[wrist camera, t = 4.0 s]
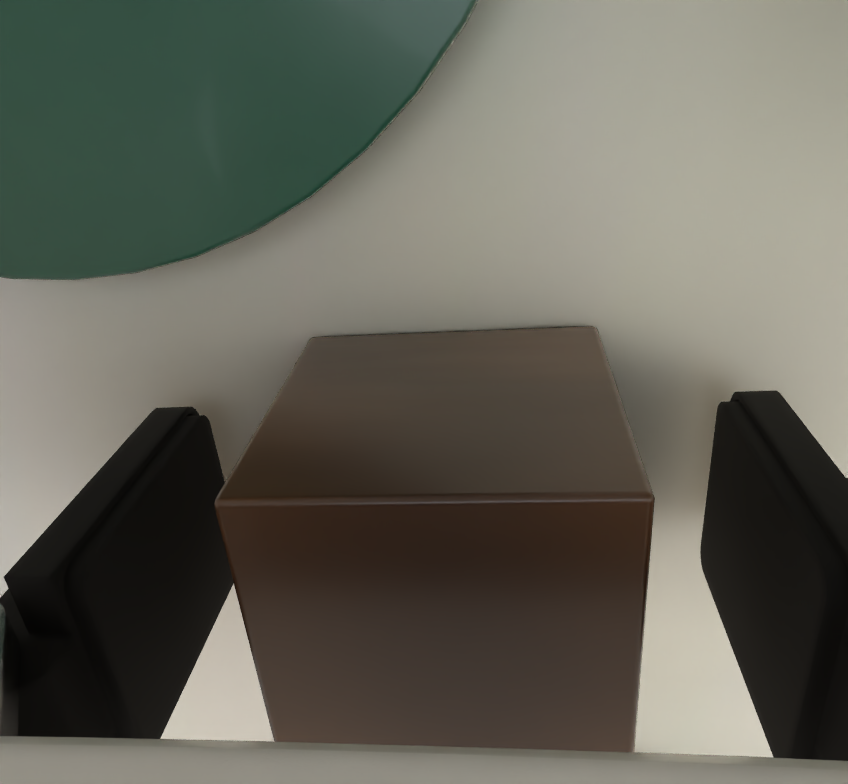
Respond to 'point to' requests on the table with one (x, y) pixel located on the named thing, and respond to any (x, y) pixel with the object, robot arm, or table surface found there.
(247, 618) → the block
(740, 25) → the table surface
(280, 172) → the lid
